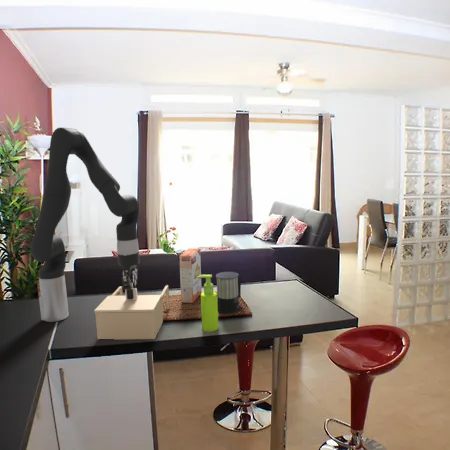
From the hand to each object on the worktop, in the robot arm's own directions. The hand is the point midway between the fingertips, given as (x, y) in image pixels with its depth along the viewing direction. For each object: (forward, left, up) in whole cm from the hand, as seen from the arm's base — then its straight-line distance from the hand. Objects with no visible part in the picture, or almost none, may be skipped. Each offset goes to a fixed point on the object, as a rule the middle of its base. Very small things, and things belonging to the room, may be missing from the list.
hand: (131, 297), depth 144 cm
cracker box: (+18, +30, -12) cm, 37 cm away
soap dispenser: (+28, -2, -12) cm, 30 cm away
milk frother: (+32, +18, -12) cm, 38 cm away
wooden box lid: (0, -3, -2) cm, 3 cm away
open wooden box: (0, +4, -12) cm, 12 cm away
